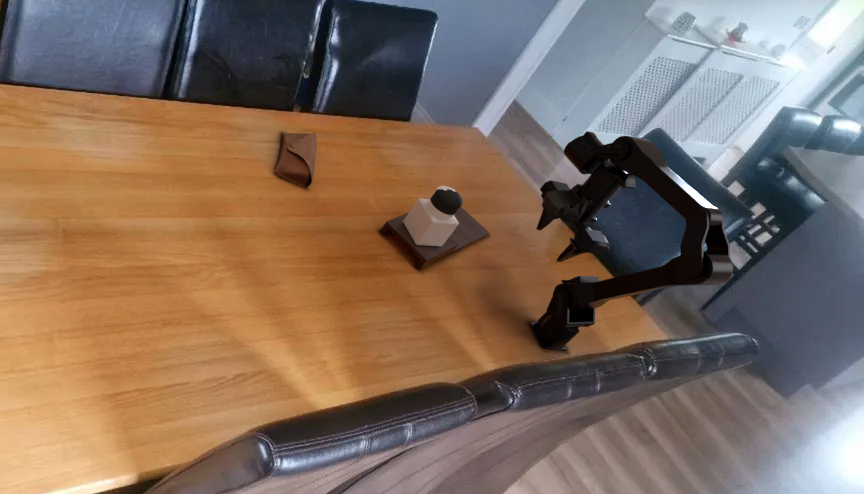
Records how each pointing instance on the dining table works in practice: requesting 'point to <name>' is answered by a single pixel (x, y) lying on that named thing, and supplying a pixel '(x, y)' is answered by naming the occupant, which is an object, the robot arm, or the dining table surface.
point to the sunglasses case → (297, 158)
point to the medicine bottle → (434, 217)
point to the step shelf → (458, 239)
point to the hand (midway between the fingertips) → (548, 245)
